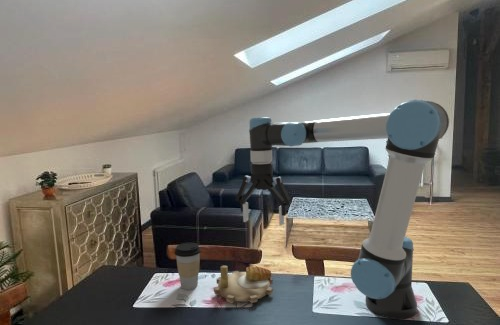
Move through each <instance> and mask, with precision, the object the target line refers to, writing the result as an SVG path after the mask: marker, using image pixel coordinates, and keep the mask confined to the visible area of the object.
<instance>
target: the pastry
mask: <svg viewBox="0 0 500 325" xmlns="http://www.w3.org/2000/svg"><path fill="white" fill-rule="evenodd" d="M245 272H246V279H247V280H249V281H253V280H255V281H259V280H266V279H268V278H272V271H271V270H270V269H268V268H264V267H260V266H256V265H255V266H250V267H249V266H247V267H246V269H245Z"/></svg>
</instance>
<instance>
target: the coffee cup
mask: <svg viewBox="0 0 500 325" xmlns="http://www.w3.org/2000/svg"><path fill="white" fill-rule="evenodd" d="M201 252H202V249H201V247H200V246H199V244H198V243H196V242H183V243H180V244H178V245H177V246H175V249H174V251H173V253H174V255H175V256H176V266H177V272H178V276H179V282H180V287H181V289H183V290H188V291H190V290H194V289H196V288H197V287H198V284H199V273H200V272H199V271H200V262H201V261H200V260H201V258H200V253H201Z"/></svg>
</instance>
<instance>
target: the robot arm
mask: <svg viewBox="0 0 500 325" xmlns="http://www.w3.org/2000/svg"><path fill="white" fill-rule="evenodd" d="M449 126H450V118H449V115H448V112H447V110H446V109H445V108H444V107H443V106H442V105H441V104H439V103H436V102H434V101H429V100H423V99H411V100H407V101H405V102H402V103H400V104H399V105H397V106H396V107H395V108H393V109H392V110H391V112H385V113H375V114H374V113H373V114H367V115H366V114H365V115H356V116H345V117H337V118H328V119H318V120H306V121H288V122H287V121H286V122H273V121H272V118H271V117H269V116H268V117H267V116H265V117H261V116H260V117H251V118H250V119H249V129H248V133H249V142H250V149H249V150H250V162H251V164H250V174H251V176H249V175H248V174H247V175H244V176H243V177H242V183H241V186H240V187H239V190H238V192H237V194H236V197H235V201H236V202H238V203H240V212H241V213H242V216H243V221H242V222H243V223H246V222H248V221H249V220H250V218H249V202H247V200H248V199H249V198H250V197H251V195H252V194H253V193H254V192H255V191H256V190H263V191H266V190H267V191H268V192H270V194H271V195H272V196H273V197H274V199H275V200H276V201H277V203H278V204H279V205H280V206H278V220H279V222H278V223H279V224H278V225H279V226H280V227H282V226H283V225H284V224H285V216H286V215H287V206H289V205H291V204H292V202H293V201H292V199H291V197H290V195H289V193H288V191H287V189H286V188H285V185H284V183H283V178H282V176H277V177H274V174H273V173H274V171H273V170H274V167H273V166H274V165H273V164H274V163H272V162H273V147H274V146H282V147H283V146H284V147H285V146H287V147H298V146H302V145H303V144H313V143H315V144H316V143H326V142H327V143H328V142H344V141H347V142H348V141H361V140H363V141H364V140H378V139H379V140H381V139H386V140H387V141H386V145H385V150H386V152H387V154H388V155H389V156H388V157H389V159H388V163H387V166H386V170H385V174H384V177H383V178H384V179H383V183H382V187H381V191H380V193H379V194H380V195H379V199H378V201H377V202H378V203H377V206H376V210H375V214H374V219H373V221H372V225H371V226H372V227H371V230H370V233H369V237H367V238H365V239H363V240H362V242H361V247H360V251H359V255H358V259H356V260H355V261H354V262H353V264H352V266H351V268H350V278H351V281H352V283H353V284H354V286H355V288H356V289H357V290H358V291H359V292H360V293H361V294H363V296H365V305H366V306H367V308H368V309H369V310H370V311H371V312H373V313H375V314H377V315H380V316H382V317H384V318H388V319H397V320H398V319H399V320H400V319H401V320H402V319H403V320H404V319H409V318H412V317H414V316H416V315H417V309H418V304H417V299H416V296H415V293H414V290H413V286H412V283H413V282H412V280H413V259H414V242H413V240H412V239H411V238H409V237H408V236H406V234H407V231H408V227H409V223H410V220H411V216H412V212H413V208H414V206H415V201H416V198H417V194H418V191H419V188H420V183H421V180H422V176H423V173H424V169H425V165H426V164H427V163H428V162H431V161H432V160H434V158H435V155H436V152H437V148H438V145H439V144H438V143H439V141H440V139H442V138H443V137H444V136H445V135H446V133H447V132H448V129H449ZM250 181H251V183H252V184H251V186H250V187H249V188H248V190H247V191H246V189H247V187H248V184H249V183H250ZM273 183H275V184H276V186H277V188H278V190H279V191H278V190H277V188H276V187H275V185H274V184H273Z"/></svg>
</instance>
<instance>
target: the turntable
mask: <svg viewBox="0 0 500 325" xmlns="http://www.w3.org/2000/svg"><path fill="white" fill-rule="evenodd" d="M228 272H229V271H228V265H221V266H220V276H219V277H217V278H216V284H217V285H218V286H215V287H213V292H214V295H215V296H216V295H221V296H222V297H223V298H225V299H226V302H228V303H230V304H231V303H234V302H250V303H251V304H253V303H257V302H258V300H259V299H262V298H263V297H265V296H266V295H268V296H272V294H273V293H274V288H273V287H271V285H273V284H274V280H273V277H271V278H268V279H266V280H259V281H255V280H253V281H249V280H247V279H246V271H239V270H234V271H232V272H231V273H229V274H228Z"/></svg>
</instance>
